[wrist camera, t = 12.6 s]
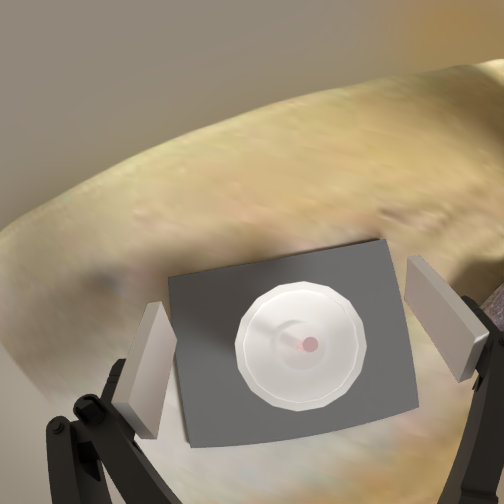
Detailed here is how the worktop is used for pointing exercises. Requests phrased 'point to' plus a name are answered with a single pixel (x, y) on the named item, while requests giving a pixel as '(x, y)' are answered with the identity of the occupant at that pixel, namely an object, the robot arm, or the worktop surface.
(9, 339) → the worktop surface
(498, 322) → the rock
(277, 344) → the beverage cup
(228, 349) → the stop mat
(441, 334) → the robot arm
